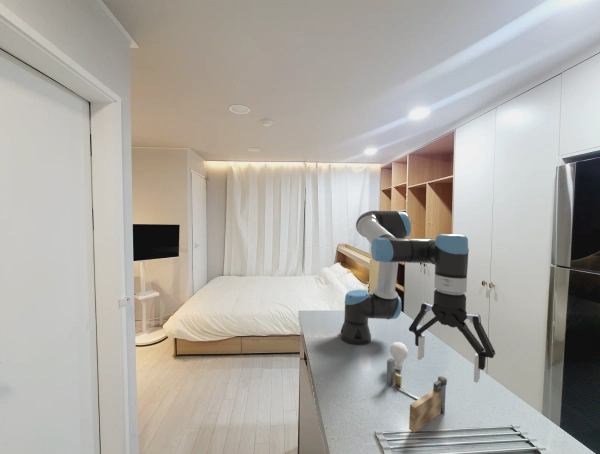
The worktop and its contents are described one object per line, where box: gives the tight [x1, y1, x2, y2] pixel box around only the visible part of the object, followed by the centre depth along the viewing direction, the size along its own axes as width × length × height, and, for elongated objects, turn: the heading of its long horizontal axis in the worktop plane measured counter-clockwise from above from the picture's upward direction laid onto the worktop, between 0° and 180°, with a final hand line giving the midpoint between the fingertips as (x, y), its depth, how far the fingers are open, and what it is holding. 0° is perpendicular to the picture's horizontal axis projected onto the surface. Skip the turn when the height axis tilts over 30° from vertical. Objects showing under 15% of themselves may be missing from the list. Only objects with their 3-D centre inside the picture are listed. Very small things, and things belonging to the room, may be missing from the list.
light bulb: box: [389, 341, 409, 371], centre depth 99 cm, size 7×7×11 cm
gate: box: [408, 375, 448, 433], centre depth 74 cm, size 17×2×10 cm, turn 123°
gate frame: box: [385, 357, 447, 415], centre depth 84 cm, size 19×3×9 cm, turn 43°
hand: (446, 368), depth 68 cm, fingers open, 13 cm apart
